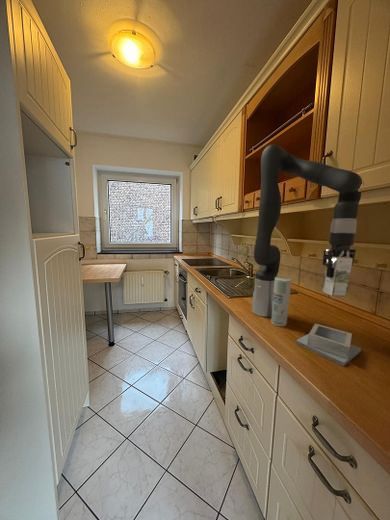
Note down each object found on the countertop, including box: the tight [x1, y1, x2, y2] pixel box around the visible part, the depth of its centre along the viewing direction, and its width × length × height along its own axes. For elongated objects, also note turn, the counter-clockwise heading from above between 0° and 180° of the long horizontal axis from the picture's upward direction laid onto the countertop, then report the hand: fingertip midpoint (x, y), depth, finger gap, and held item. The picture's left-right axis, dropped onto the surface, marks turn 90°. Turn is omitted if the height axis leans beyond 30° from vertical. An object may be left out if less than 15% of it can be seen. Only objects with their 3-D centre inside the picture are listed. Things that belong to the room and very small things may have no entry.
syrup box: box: [321, 257, 353, 297], centre depth 77 cm, size 6×6×14 cm
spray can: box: [270, 276, 292, 327], centre depth 90 cm, size 6×6×20 cm
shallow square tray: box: [307, 323, 353, 359], centre depth 72 cm, size 11×11×4 cm
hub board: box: [295, 333, 362, 367], centre depth 73 cm, size 15×14×1 cm
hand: (336, 276), depth 77 cm, fingers closed on syrup box, 6 cm apart
